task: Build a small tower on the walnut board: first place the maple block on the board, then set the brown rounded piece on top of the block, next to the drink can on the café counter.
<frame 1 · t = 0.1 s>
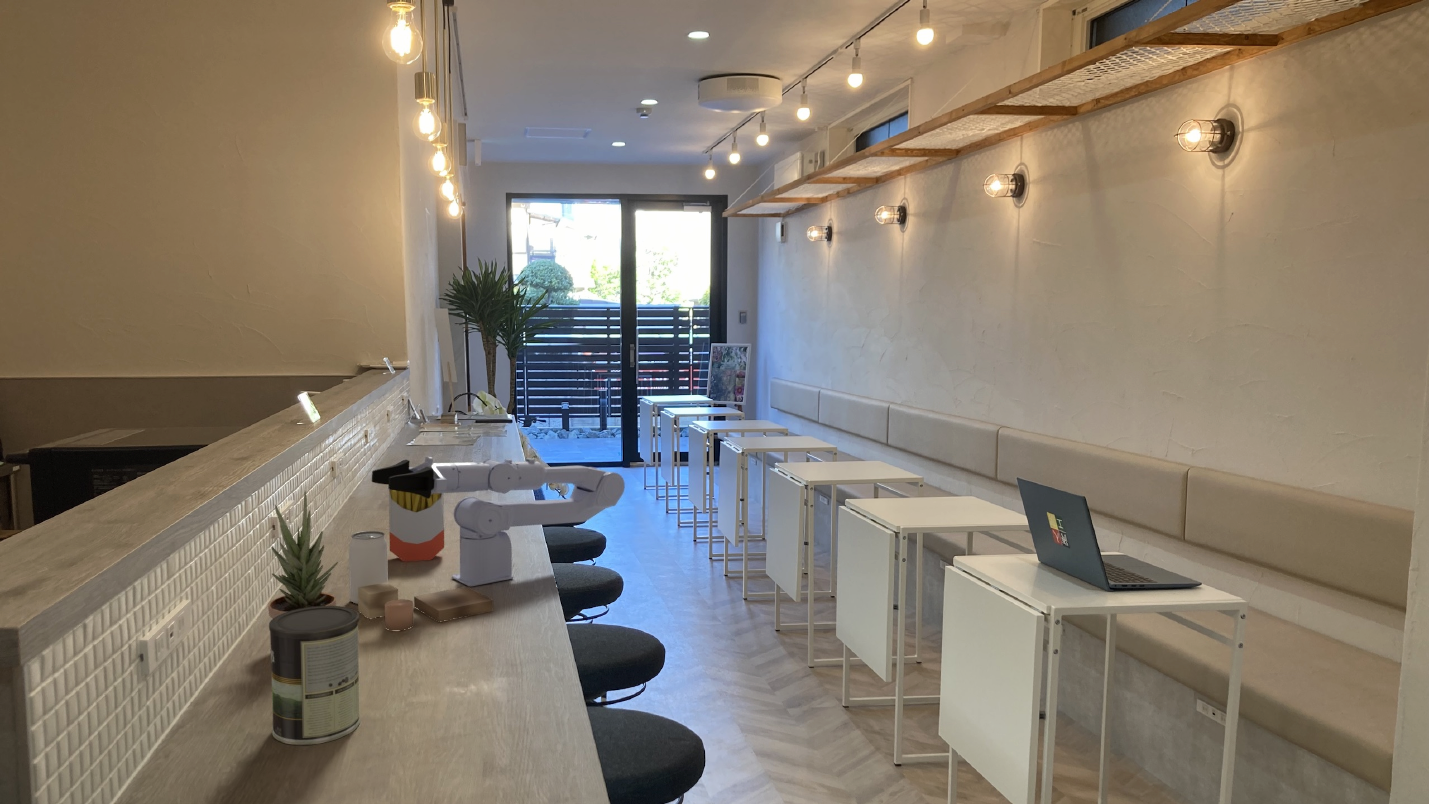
hand: (380, 479, 169), 22 cm above the bar counter, tool horizontal, fingers open, 7 cm apart
potted plant: (305, 647, 146), on the bar counter
board: (453, 609, 165), on the bar counter
french fries container: (417, 559, 198), on the bar counter
can: (369, 601, 170), on the bar counter
block: (378, 613, 163), on the bar counter
brown rounded piece: (399, 627, 156), on the bar counter
coffee can: (317, 728, 118), on the bar counter
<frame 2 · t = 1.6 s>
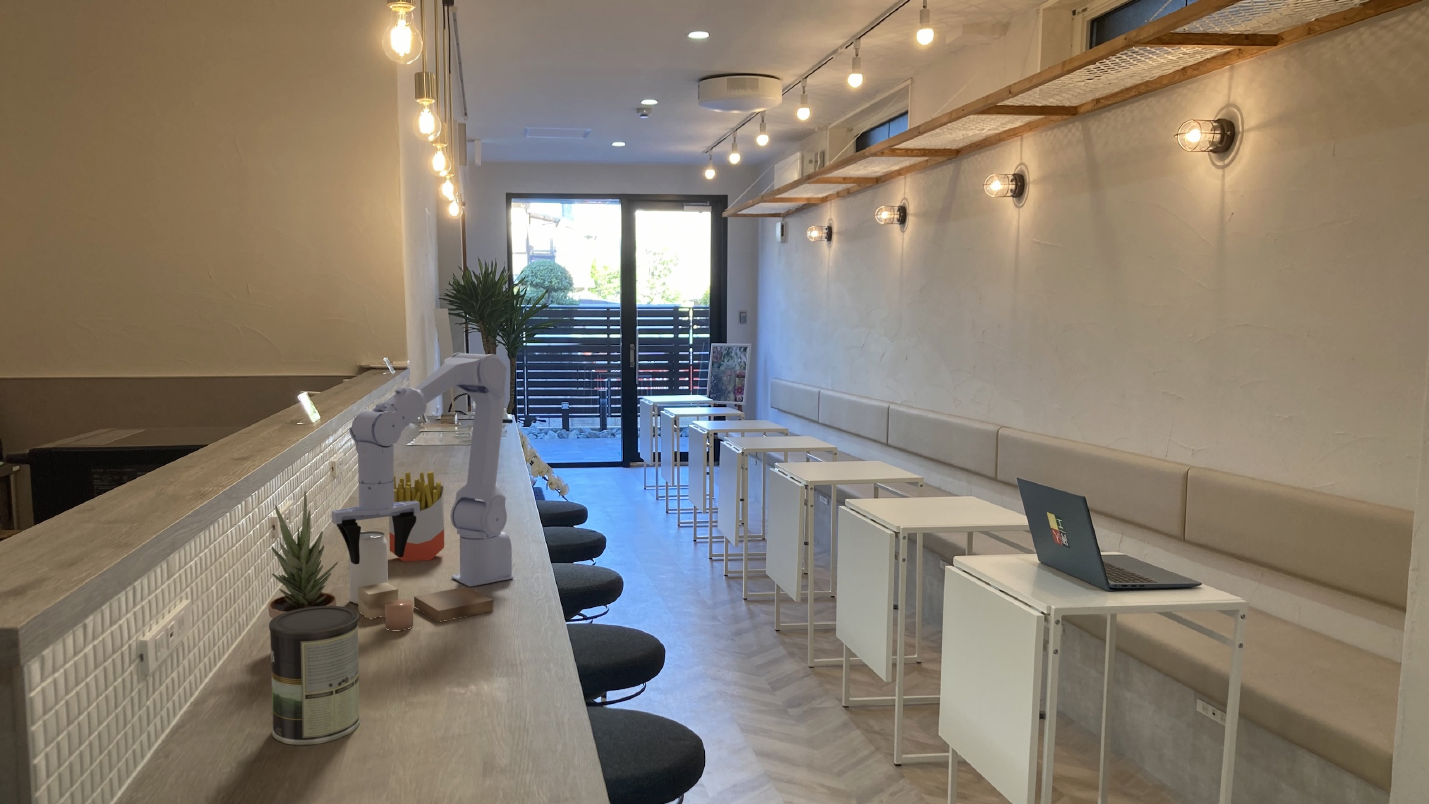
hand: (377, 559, 162), 9 cm above the bar counter, tool pointing down, fingers open, 7 cm apart
nothing on the bar counter moved.
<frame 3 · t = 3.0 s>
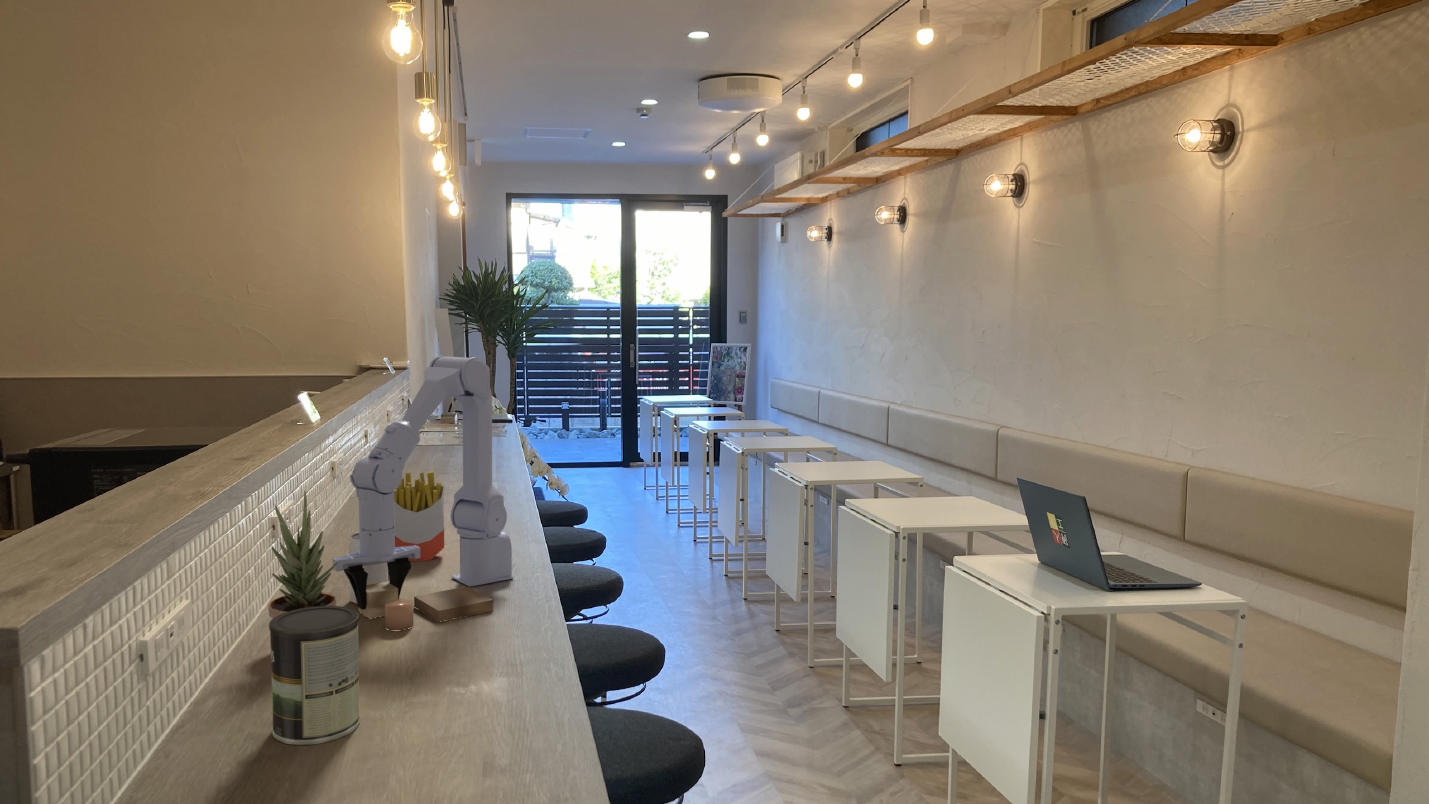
hand: (378, 604, 163), 1 cm above the bar counter, tool pointing down, fingers closed on block, 5 cm apart
block: (378, 612, 163), on the bar counter, touching gripper
everything else where it was.
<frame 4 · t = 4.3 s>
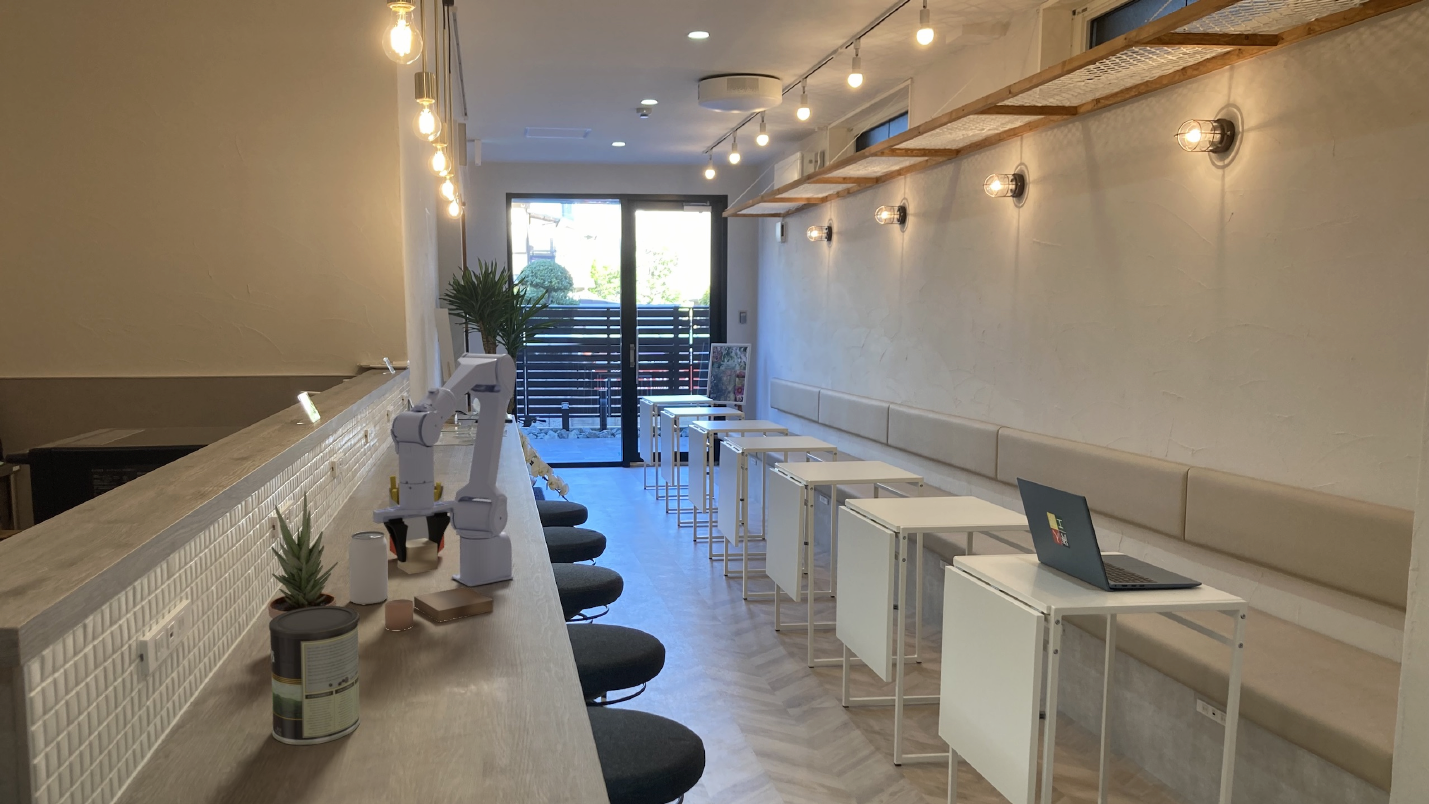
hand: (417, 558, 163), 9 cm above the bar counter, tool pointing down, fingers closed on block, 5 cm apart
block: (417, 568, 164), point 8 cm above the bar counter, touching gripper
everything else where it was.
when the fingers open (5 cm above the bar counter, at t = 6.0 s): block stays where it is, resting on board.
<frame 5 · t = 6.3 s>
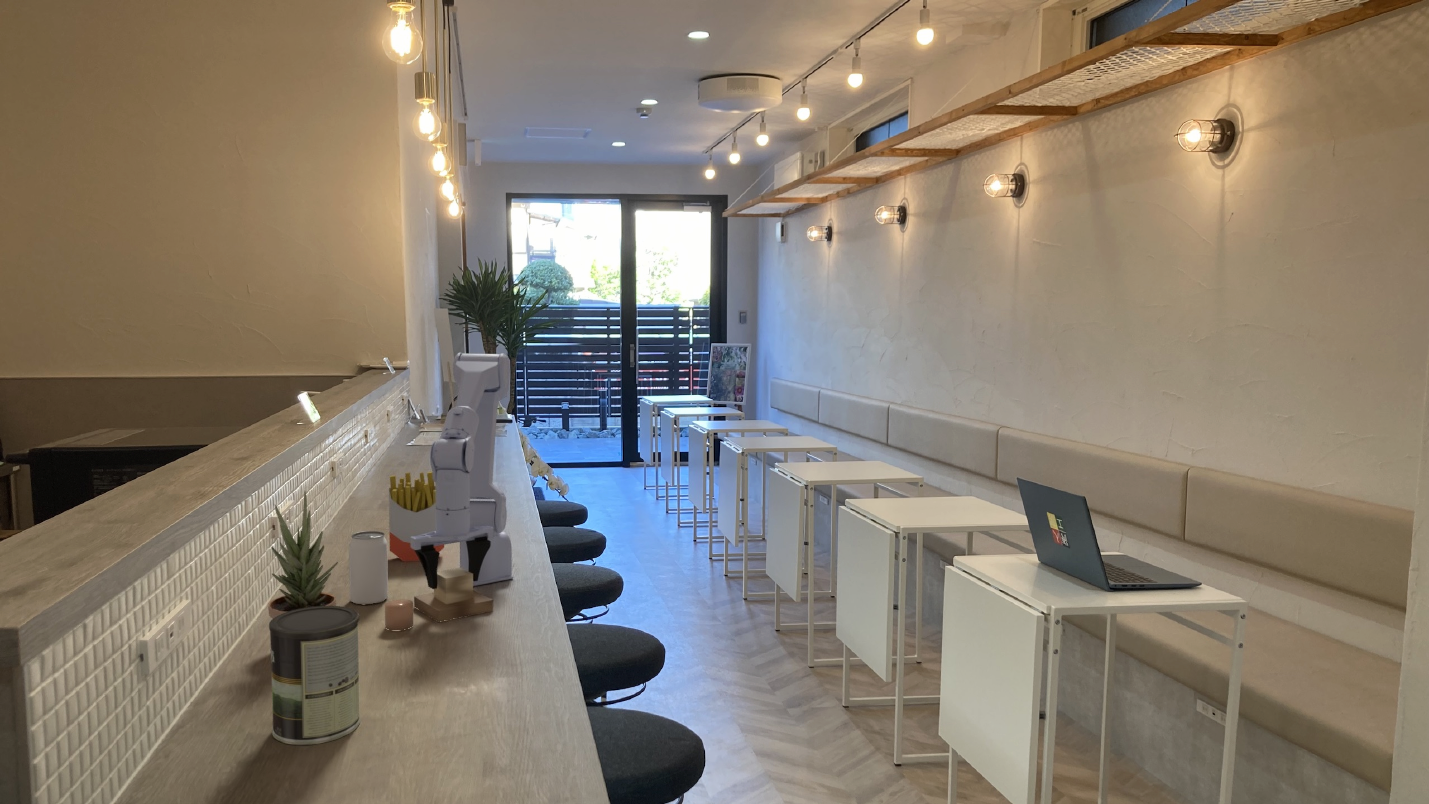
hand: (453, 583, 165), 5 cm above the bar counter, tool pointing down, fingers open, 7 cm apart
block: (453, 598, 165), point 2 cm above the bar counter, touching board
everything else where it was.
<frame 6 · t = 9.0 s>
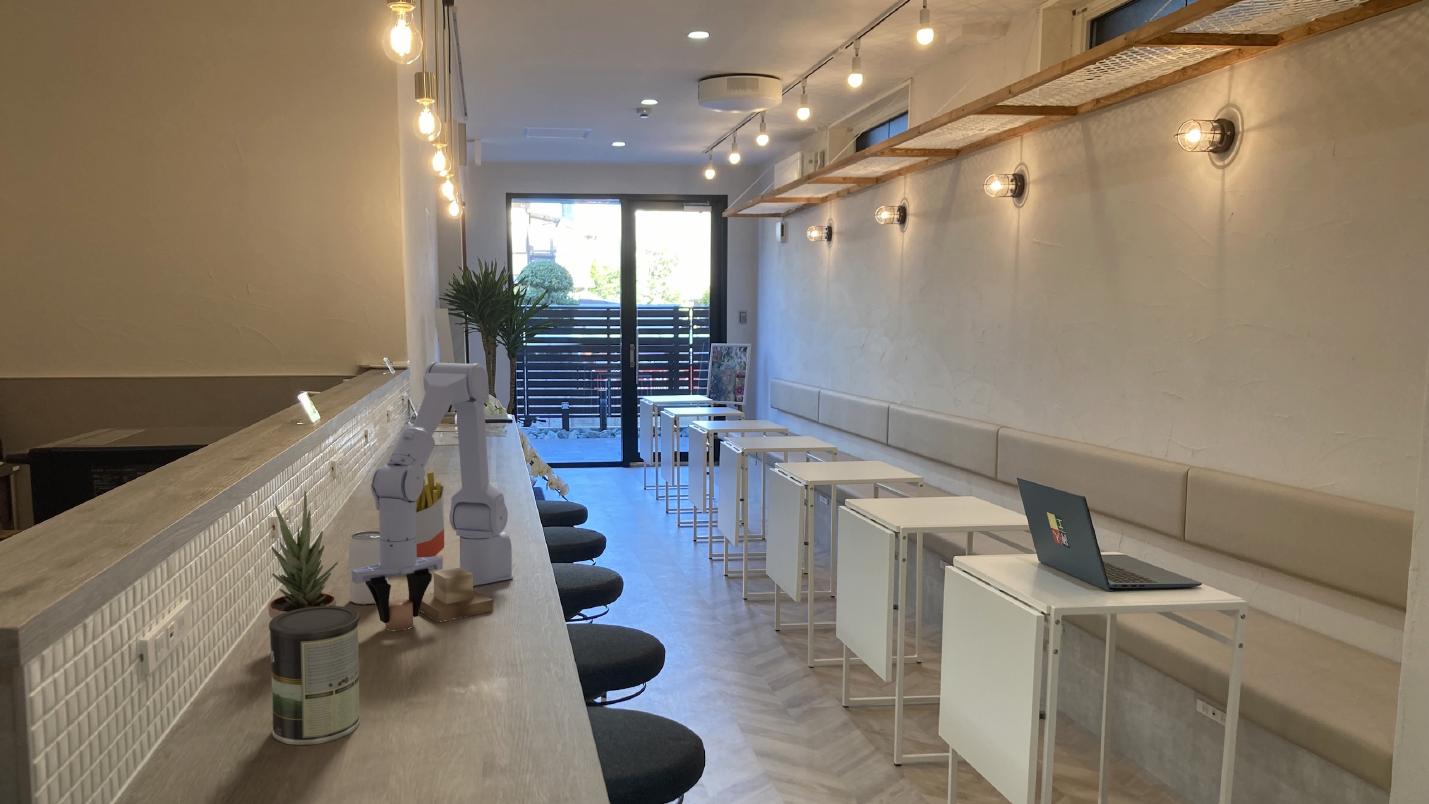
hand: (399, 618, 156), 1 cm above the bar counter, tool pointing down, fingers closed on brown rounded piece, 4 cm apart
brown rounded piece: (399, 626, 156), on the bar counter, touching gripper
everything else where it was.
when the fingers open (9 cm above the bar counter, at t = 11.6 s): brown rounded piece stays where it is, resting on block.
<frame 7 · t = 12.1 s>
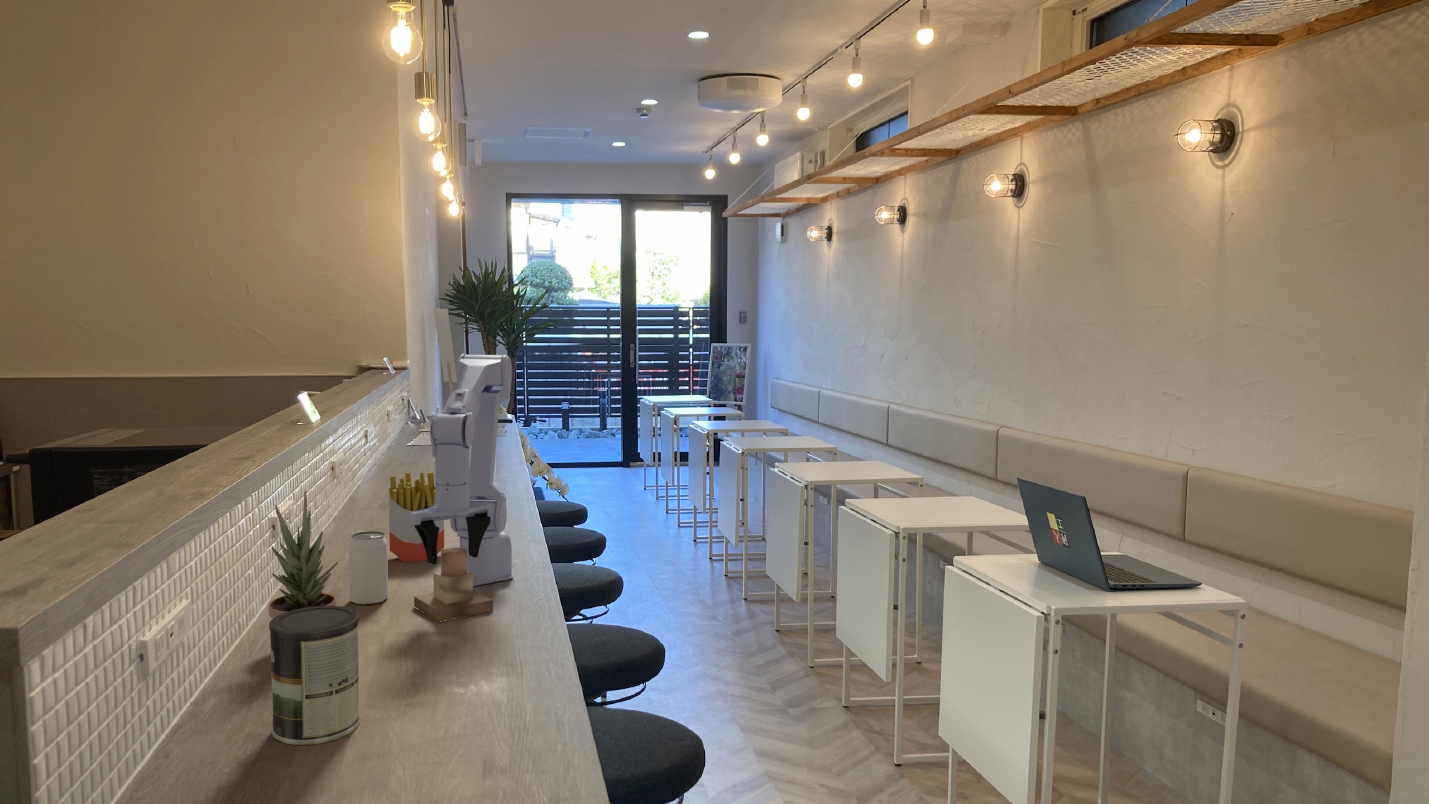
hand: (453, 559, 165), 9 cm above the bar counter, tool pointing down, fingers open, 7 cm apart
block: (453, 598, 165), point 2 cm above the bar counter, touching board, brown rounded piece
brown rounded piece: (454, 573, 165), point 6 cm above the bar counter, touching block
everything else where it was.
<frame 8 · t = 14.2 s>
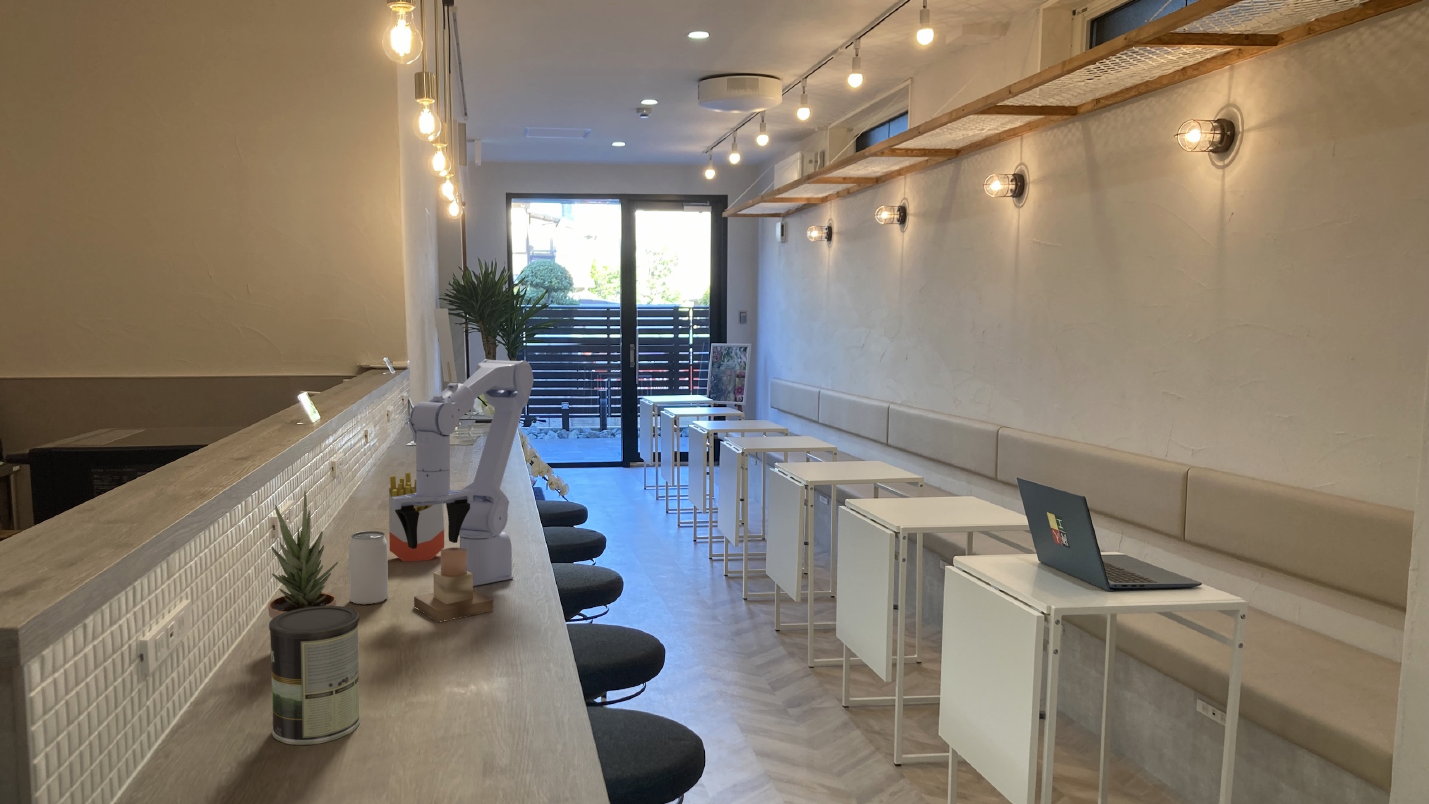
hand: (433, 544, 169), 10 cm above the bar counter, tool pointing down, fingers open, 7 cm apart
nothing on the bar counter moved.
at the end: block inside the target area on the board (0.0 cm from its centre), point 2.0 cm above the board's base; brown rounded piece 0.2 cm from the block (horizontally); brown rounded piece point 6.5 cm above the bar counter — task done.
